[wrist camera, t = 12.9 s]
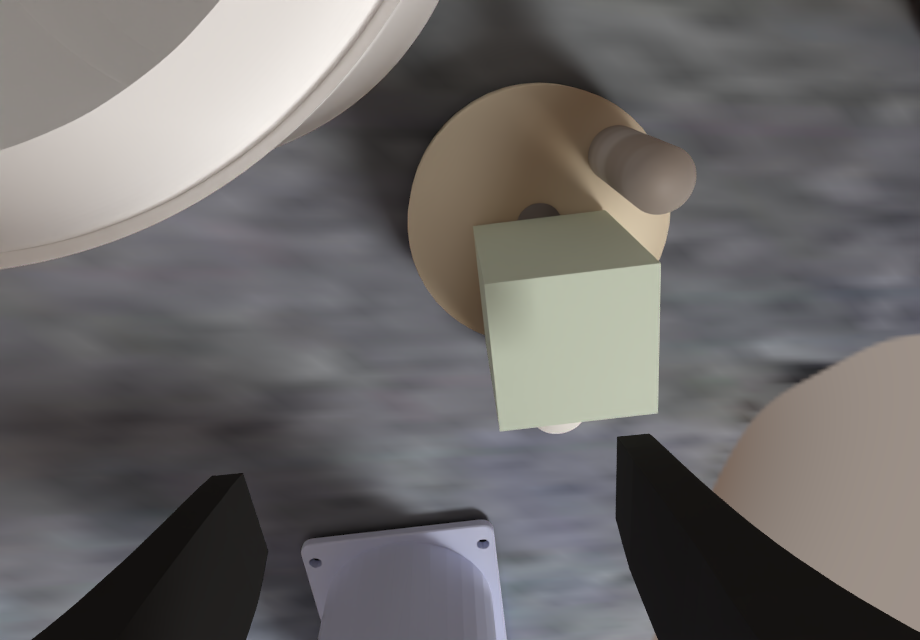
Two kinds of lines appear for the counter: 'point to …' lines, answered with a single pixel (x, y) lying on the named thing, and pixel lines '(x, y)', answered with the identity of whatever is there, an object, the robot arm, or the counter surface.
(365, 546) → the robot arm
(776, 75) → the counter surface
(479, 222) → the disc
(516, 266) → the link block
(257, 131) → the jar
